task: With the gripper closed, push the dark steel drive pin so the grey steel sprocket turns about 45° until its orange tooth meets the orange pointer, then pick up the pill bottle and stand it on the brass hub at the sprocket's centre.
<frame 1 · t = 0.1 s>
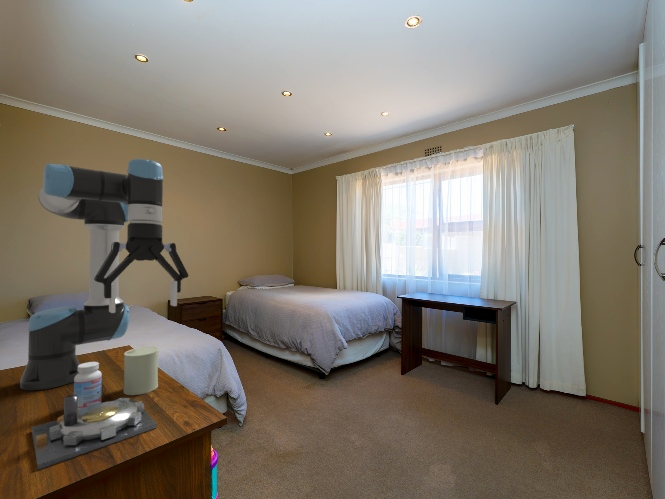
hand: (144, 308, 80), 28 cm above the dresser, tool pointing down, fingers open, 13 cm apart
sprocket: (100, 406, 77), point 5 cm above the dresser, hinge at 0.0°
pill bottle: (87, 406, 88), on the dresser
pale green cylinder: (141, 389, 99), on the dresser
base plate: (100, 428, 77), on the dresser
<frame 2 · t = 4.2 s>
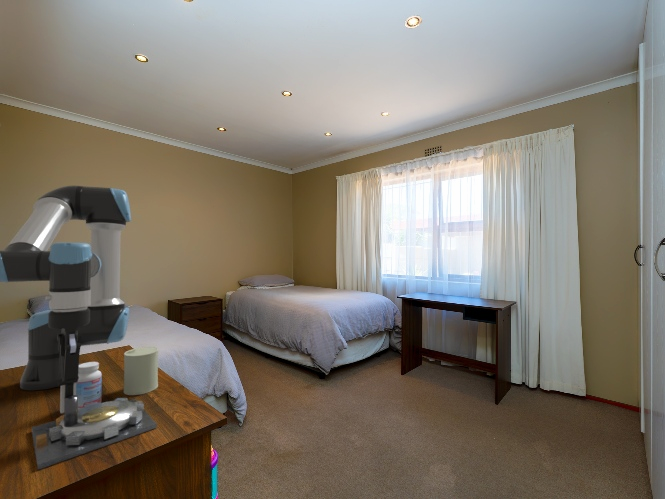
hand: (67, 410, 75), 5 cm above the dresser, tool pointing down, fingers closed
sprocket: (100, 406, 77), point 5 cm above the dresser, hinge at 3.3°, touching gripper
everything else where it was.
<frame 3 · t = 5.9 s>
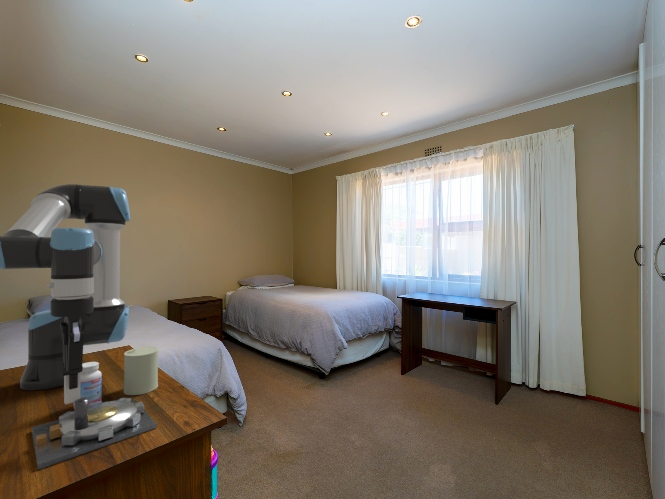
hand: (72, 401, 73), 8 cm above the dresser, tool pointing down, fingers closed
sprocket: (100, 406, 77), point 5 cm above the dresser, hinge at 41.9°
everything else where it was.
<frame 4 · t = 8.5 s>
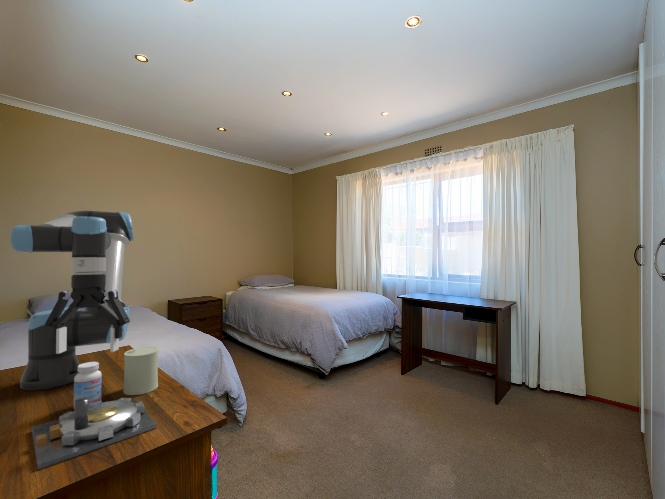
hand: (88, 351, 88), 15 cm above the dresser, tool pointing down, fingers open, 13 cm apart
nothing on the dresser moved.
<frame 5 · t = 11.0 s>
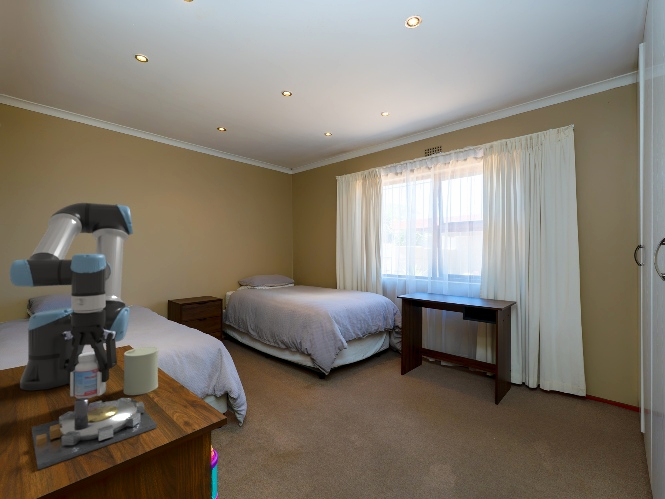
hand: (88, 393, 89), 3 cm above the dresser, tool pointing down, fingers closed on pill bottle, 6 cm apart
pill bottle: (88, 395, 89), point 2 cm above the dresser, touching gripper
everything else where it was.
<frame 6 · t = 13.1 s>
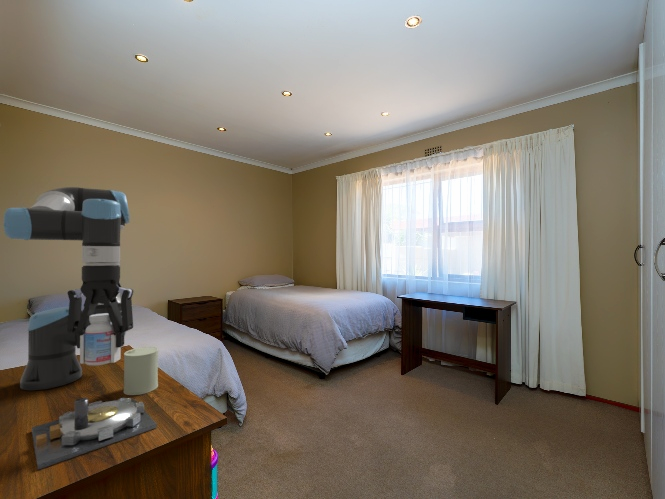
hand: (100, 361, 77), 16 cm above the dresser, tool pointing down, fingers closed on pill bottle, 6 cm apart
pill bottle: (101, 362, 77), point 15 cm above the dresser, touching gripper
everything else where it was.
when the fingers open (5 cm above the dresser, at t = 15.3 s): pill bottle stays where it is, resting on sprocket.
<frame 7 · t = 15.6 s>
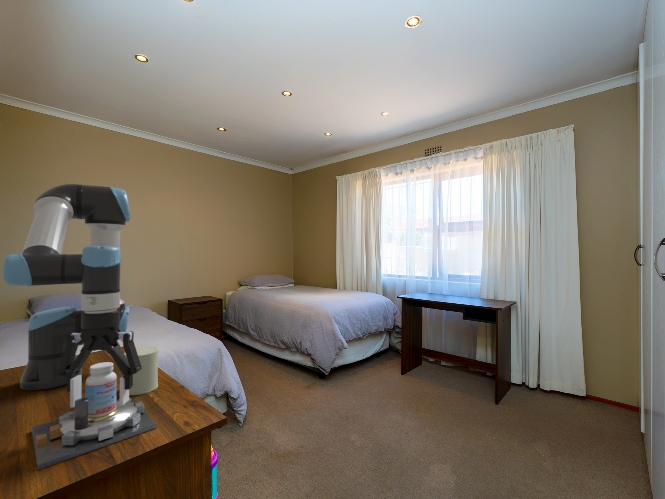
hand: (100, 403, 77), 6 cm above the dresser, tool pointing down, fingers open, 10 cm apart
sprocket: (100, 406, 77), point 5 cm above the dresser, hinge at 41.9°, touching pill bottle
pill bottle: (100, 413, 77), point 3 cm above the dresser, touching sprocket
everything else where it was.
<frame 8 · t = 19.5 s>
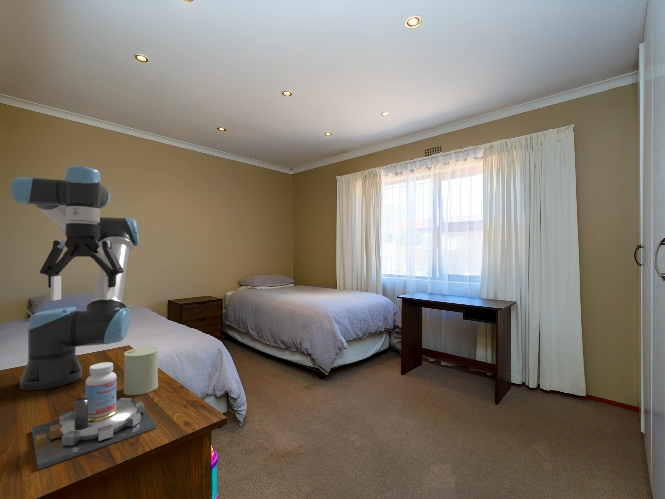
hand: (82, 299, 90), 29 cm above the dresser, tool pointing down, fingers open, 13 cm apart
nothing on the dresser moved.
at the end: sprocket at +42° (first picture: +0°); pill bottle inside the target area on the sprocket (0.2 cm from its centre), point 3.4 cm above the sprocket's base; pill bottle tilted 0° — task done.
